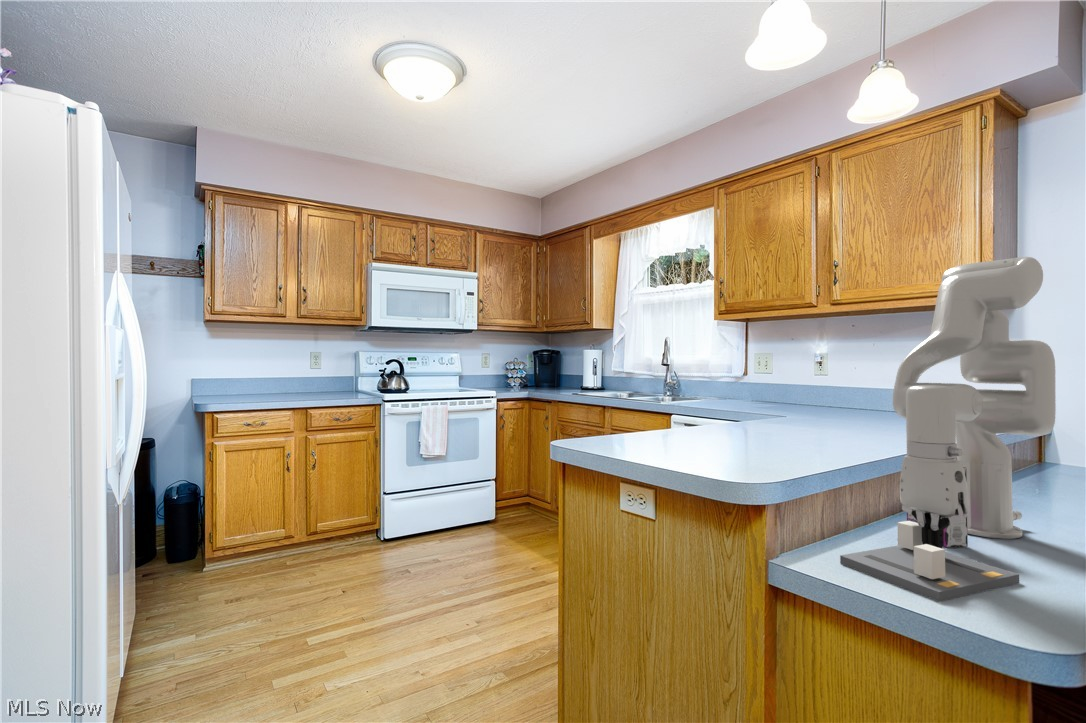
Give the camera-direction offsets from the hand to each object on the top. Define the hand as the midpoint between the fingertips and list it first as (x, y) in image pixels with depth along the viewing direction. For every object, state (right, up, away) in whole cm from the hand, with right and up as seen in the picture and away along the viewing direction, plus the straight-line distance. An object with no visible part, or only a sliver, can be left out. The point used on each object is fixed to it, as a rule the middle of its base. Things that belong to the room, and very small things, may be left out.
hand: (932, 549), depth 101 cm
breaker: (-8, -1, -10) cm, 13 cm away
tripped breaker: (-2, -1, +4) cm, 4 cm away
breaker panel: (-4, -3, -4) cm, 7 cm away
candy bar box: (+11, -3, +14) cm, 18 cm away
